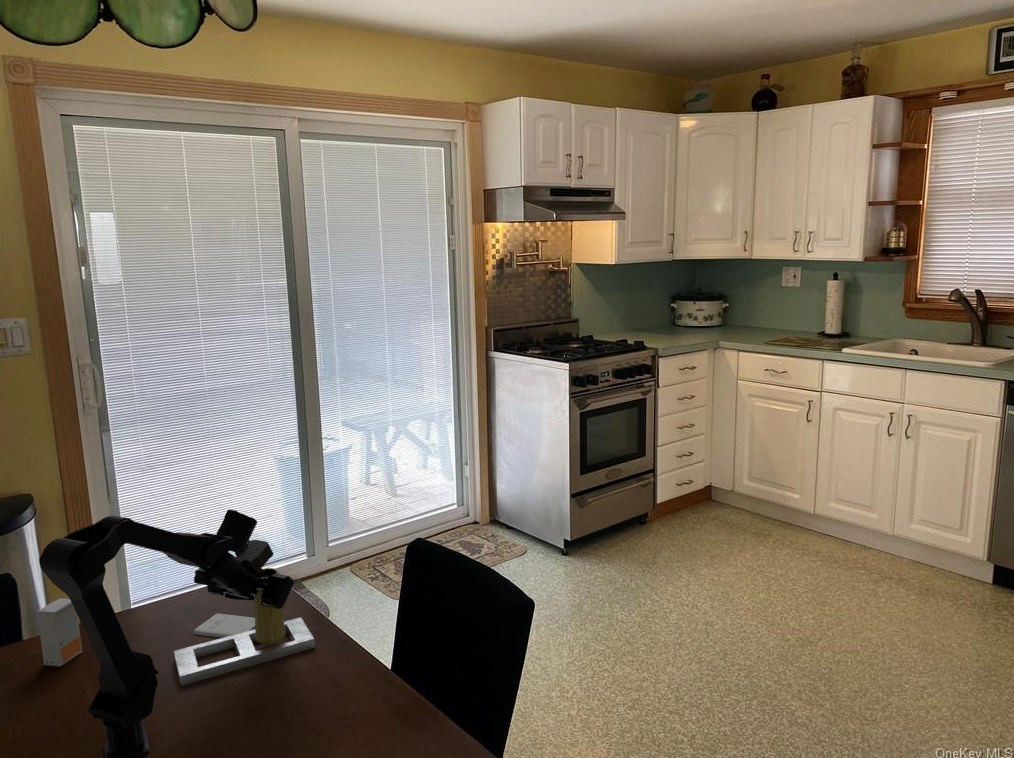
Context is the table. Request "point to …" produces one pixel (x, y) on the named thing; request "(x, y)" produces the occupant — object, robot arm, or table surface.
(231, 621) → the external hard drive
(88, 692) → the table surface
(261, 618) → the vase
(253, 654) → the grey flat frame
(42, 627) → the skincare box
